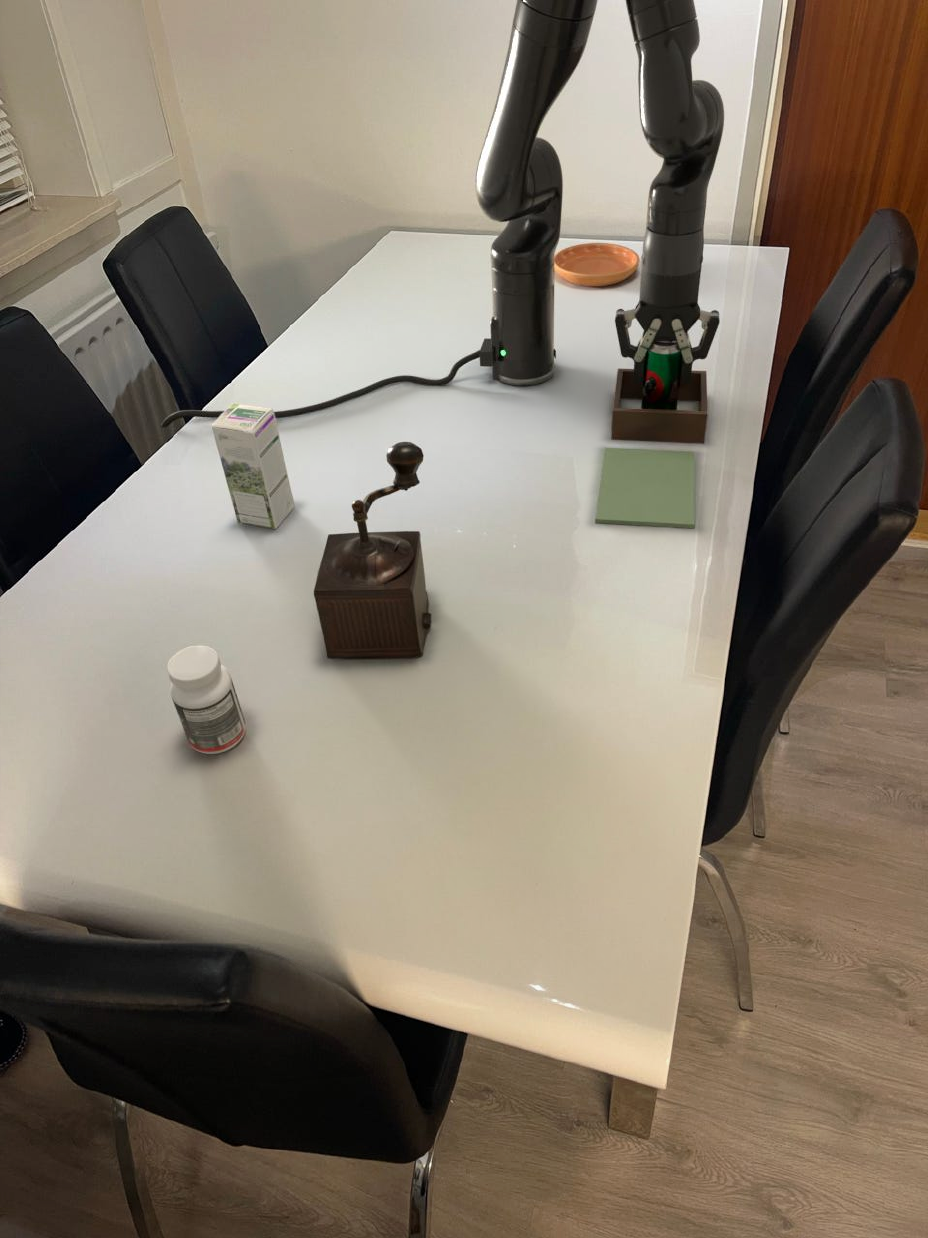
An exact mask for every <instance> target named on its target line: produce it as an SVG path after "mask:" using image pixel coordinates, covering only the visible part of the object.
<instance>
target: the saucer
mask: <svg viewBox="0 0 928 1238" xmlns="http://www.w3.org/2000/svg"><path fill="white" fill-rule="evenodd" d="M639 264H640V256H639V254H638V253H637V252H636V251H635V250H633V249H631V248H629V247H628V246H623V245H620V244H617V243H610V242H588V243H579V244H575V245H570V246H568V247H565V248H563V249H561V250H560V251H558V252H557V253H555V255H554V271H556V273H557V274H558V275H559V276H561V277H562V278H563V279H564V280H565V281H567V282H569V283H571V284H574V285H576V286H577V285H578V286H582V287H583V286H585V287H606V286H611V285H615V284H619V283H621V282H622V281H625V280H626V279H627V278H629V277H630V276H631V275H632V274H634V272H635V271H636V270H637V269H638V267H639Z"/></svg>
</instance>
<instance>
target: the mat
mask: <svg viewBox="0 0 928 1238" xmlns="http://www.w3.org/2000/svg"><path fill="white" fill-rule="evenodd" d="M695 452H696V451H694V450H693V451H692V450H671V449H670V450H669V449H649V448H626V447H625V448H624V447H623V448H621V447H604V448H603V457H602V465H601V473H600V479H599V487H598V495H597V502H596V509H595V518H594V523H595V524H610V525H627V526H645V527H647V526H648V527H663V528H679V529H680V528H681V529H696V528H695V527H696V476H695V475H696V462H695V461H696V458H695V457H696V456H695V455H696V454H695Z"/></svg>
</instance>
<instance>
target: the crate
mask: <svg viewBox="0 0 928 1238" xmlns="http://www.w3.org/2000/svg"><path fill="white" fill-rule="evenodd" d="M633 374H634V368H619V367H618V368H617V372H616V379H615V387H614V396H613V403H612V412H611V414H612V415H611V432H610V433H611V434H610V436H611V437H610V439H611V440H621V441H643V442H644V441H645V442H646V441H647V442H666V443H667V442H669V443H694V444H695V443H696V444H704V443H705V438H706V437H705V436H706V429H707V420H708V378H707V377H708V375H707V374H708V373H707V370H692V372H691V381H690V382H689V384H685V388H679V398H678V402H679V401H680V402H697V410H688V409H687V410H686V409H685V410H684V409H683V410H682V409H677V410H659V409H641V408H627V407H622V400H639V401H640V400H641V401H642V388H643V387H642V386H638V382H634V380H633Z"/></svg>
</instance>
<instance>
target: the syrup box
mask: <svg viewBox="0 0 928 1238" xmlns="http://www.w3.org/2000/svg"><path fill="white" fill-rule="evenodd" d="M223 411H224V412H223V413H222V414H221V415H220V416H219V417H218V418H216V419H215V420H214V422H213V423H212V424H211V431H212V434H213V437H214V441H215V445H216V449H217V452H218V455H219V459H220V462H221V466H222V470H223V473H224V477H225V481H226V484H227V488H228V492H229V495H230V500H231V503H232V506H233V510H234V514H235V517H236V522H237V523H238V524H241V525H246V526H247V525H248V526H253V527H259V528H266V529H271V530H277V528H279V526H280V525H281V524H282V523H283V522H284V521H285V519H287V517H288V516H289V514H291V512H292V511H293V510H294V508H295V506H296V505H295V500H294V496H293V492H292V488H291V483H290V480H289V474H288V470H287V466H286V461H285V457H284V451H283V446H282V442H281V437H280V432H279V428H278V423H277V418H275V414H274V412H275V409H273V408H268V407H261V406H251V405H245V404H236V403H233V404H232V405H230V406H229V407H227V409H225V410H223Z"/></svg>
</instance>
